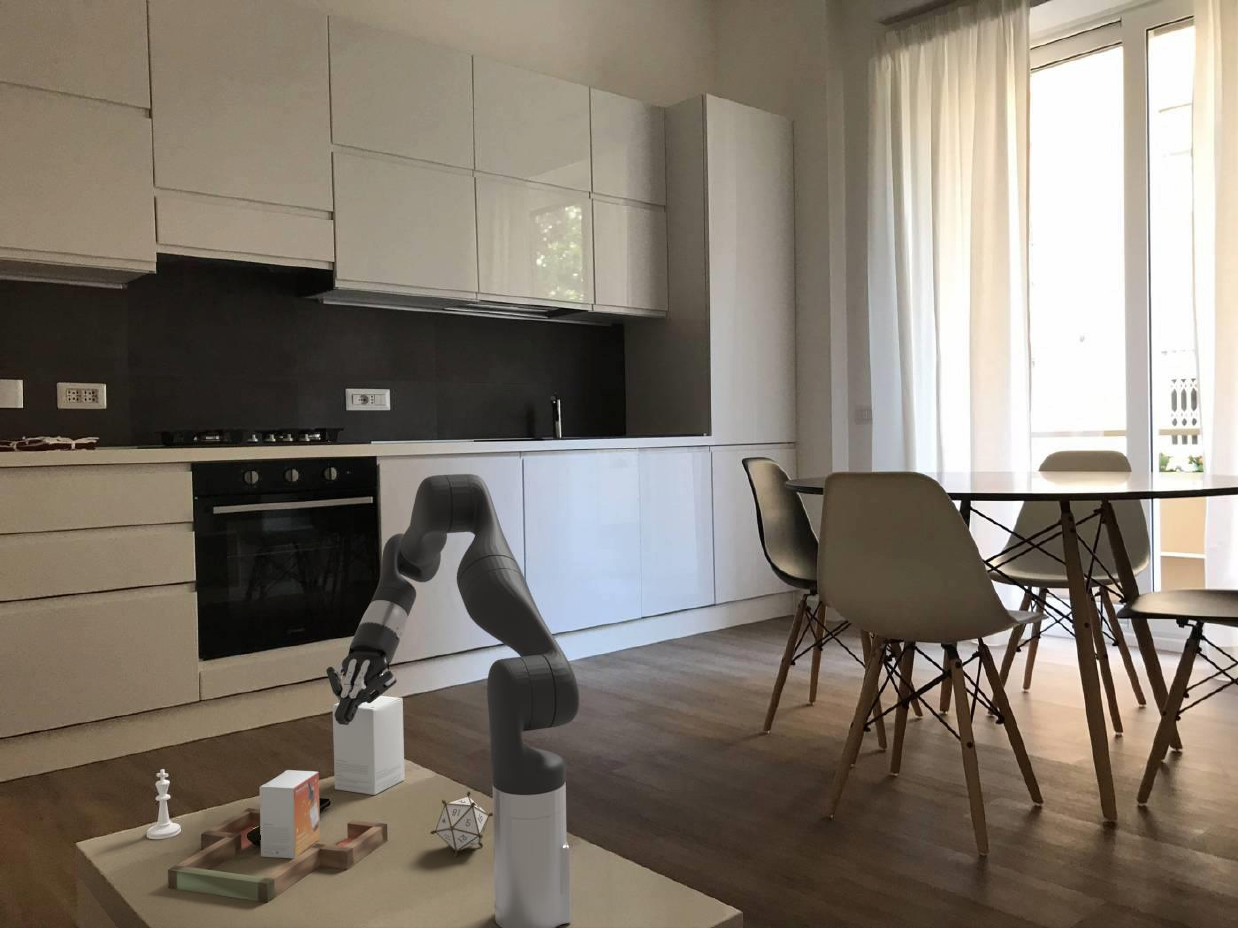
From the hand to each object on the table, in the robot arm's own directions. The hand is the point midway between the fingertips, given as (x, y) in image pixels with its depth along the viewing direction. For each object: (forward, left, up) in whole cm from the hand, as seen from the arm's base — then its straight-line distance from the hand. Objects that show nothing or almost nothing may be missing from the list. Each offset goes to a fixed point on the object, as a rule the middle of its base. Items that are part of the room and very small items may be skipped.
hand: (341, 722), depth 167 cm
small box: (+7, +12, -15) cm, 21 cm away
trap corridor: (+10, +17, -15) cm, 24 cm away
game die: (-18, +19, -15) cm, 30 cm away
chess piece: (+27, +1, -15) cm, 31 cm away
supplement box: (-4, -14, -15) cm, 21 cm away
